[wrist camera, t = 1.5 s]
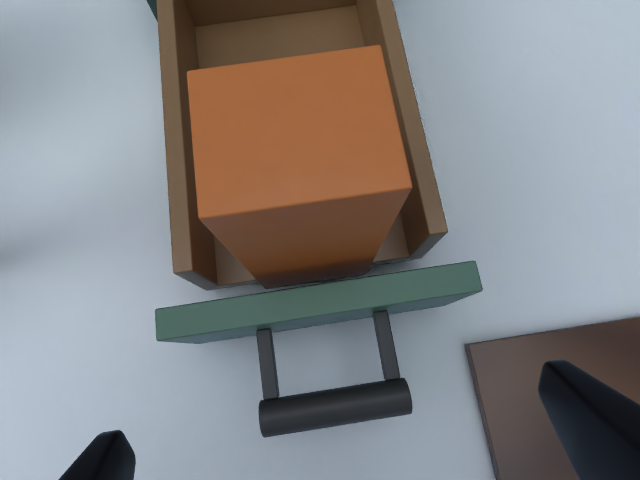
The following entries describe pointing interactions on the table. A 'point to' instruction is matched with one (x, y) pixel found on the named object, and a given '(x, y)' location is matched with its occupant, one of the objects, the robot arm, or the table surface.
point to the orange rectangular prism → (299, 162)
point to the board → (523, 398)
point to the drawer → (315, 300)
